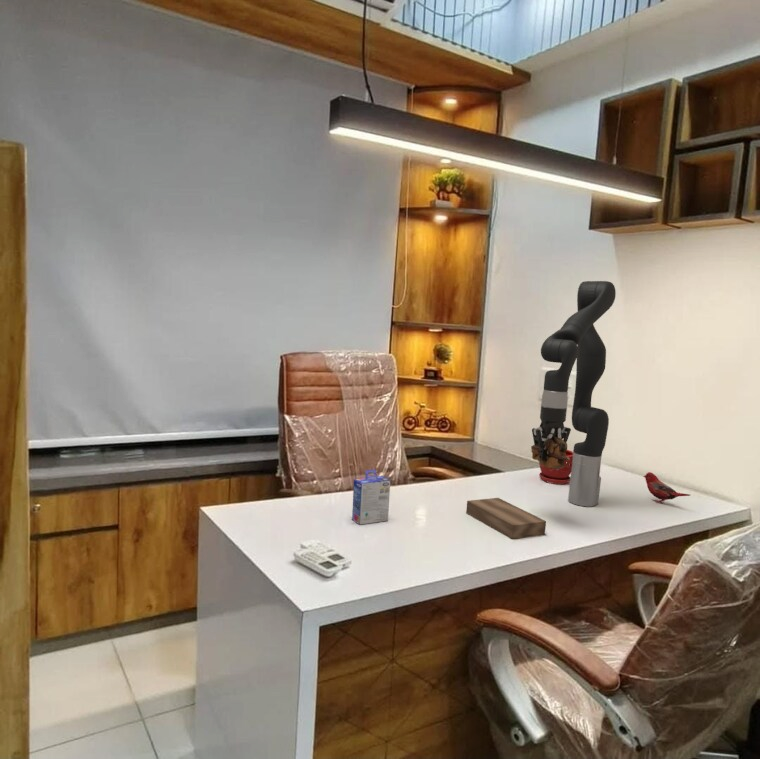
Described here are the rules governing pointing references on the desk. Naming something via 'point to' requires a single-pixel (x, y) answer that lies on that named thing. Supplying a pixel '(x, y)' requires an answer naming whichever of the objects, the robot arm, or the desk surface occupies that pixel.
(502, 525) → the walnut plinth
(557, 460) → the wooden carving
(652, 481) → the decorative bird figurine
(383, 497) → the ink cartridge box
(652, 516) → the desk surface
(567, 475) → the plant pot
